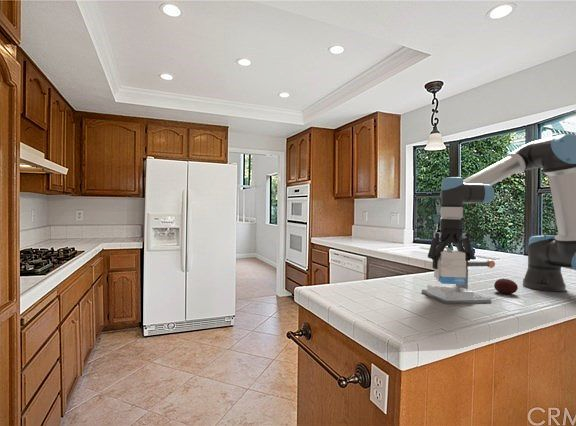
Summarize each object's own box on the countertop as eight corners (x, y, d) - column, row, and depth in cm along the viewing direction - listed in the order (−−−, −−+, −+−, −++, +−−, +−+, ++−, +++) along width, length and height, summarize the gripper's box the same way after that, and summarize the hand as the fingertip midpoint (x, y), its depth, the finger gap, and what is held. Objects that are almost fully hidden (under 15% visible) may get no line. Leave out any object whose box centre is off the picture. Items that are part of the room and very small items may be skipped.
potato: (504, 296, 131) (505, 281, 131) (489, 291, 139) (489, 277, 139) (521, 296, 132) (521, 281, 132) (504, 290, 140) (505, 276, 140)
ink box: (465, 285, 121) (466, 248, 121) (441, 283, 122) (442, 247, 122) (458, 280, 129) (458, 245, 129) (435, 278, 131) (436, 244, 131)
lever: (490, 266, 138) (490, 259, 138) (497, 268, 134) (497, 260, 134) (455, 267, 136) (455, 259, 136) (461, 269, 132) (461, 261, 132)
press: (462, 291, 138) (463, 266, 137) (491, 302, 122) (491, 274, 122) (421, 292, 135) (422, 266, 135) (445, 304, 119) (446, 274, 119)
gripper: (471, 218, 131) (470, 275, 131) (418, 217, 128) (417, 275, 128) (485, 219, 123) (483, 279, 124) (429, 218, 120) (427, 279, 121)
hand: (449, 277), depth 126 cm, fingers closed on ink box, 10 cm apart
